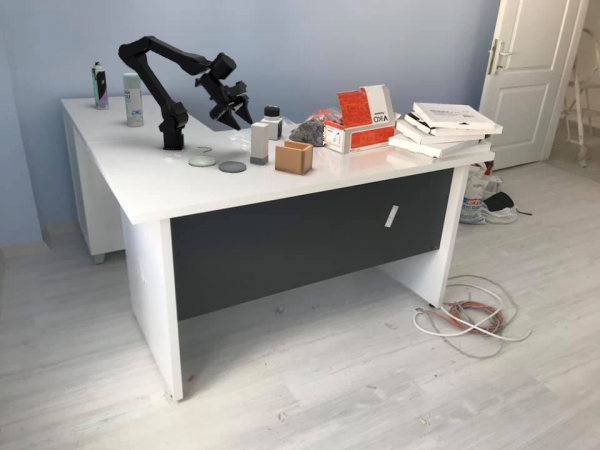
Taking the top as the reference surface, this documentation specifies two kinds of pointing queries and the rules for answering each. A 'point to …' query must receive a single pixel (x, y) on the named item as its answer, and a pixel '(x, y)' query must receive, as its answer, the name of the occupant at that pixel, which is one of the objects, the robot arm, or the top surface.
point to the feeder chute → (294, 157)
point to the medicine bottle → (273, 121)
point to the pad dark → (232, 166)
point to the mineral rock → (309, 133)
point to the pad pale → (202, 161)
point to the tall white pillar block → (259, 143)
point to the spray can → (100, 87)
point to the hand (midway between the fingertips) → (246, 126)
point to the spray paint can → (133, 99)
